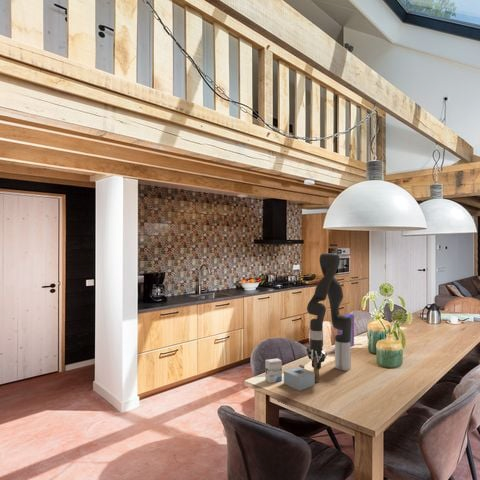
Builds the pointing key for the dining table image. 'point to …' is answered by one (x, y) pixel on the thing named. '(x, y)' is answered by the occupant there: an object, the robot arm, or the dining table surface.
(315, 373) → the long pin
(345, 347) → the robot arm
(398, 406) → the dining table surface
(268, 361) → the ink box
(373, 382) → the dining table surface
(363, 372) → the dining table surface
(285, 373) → the hole block
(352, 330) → the cereal box
